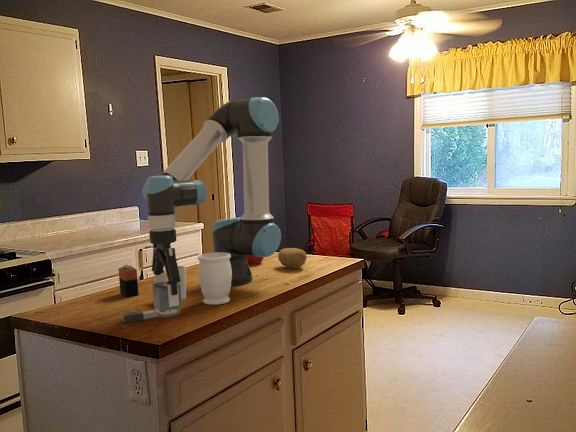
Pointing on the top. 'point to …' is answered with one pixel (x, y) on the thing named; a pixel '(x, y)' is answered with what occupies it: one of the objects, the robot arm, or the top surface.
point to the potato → (292, 257)
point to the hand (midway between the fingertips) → (167, 300)
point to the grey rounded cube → (163, 297)
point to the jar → (215, 277)
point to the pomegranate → (253, 260)
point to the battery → (128, 281)
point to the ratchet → (148, 315)
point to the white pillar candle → (183, 281)
